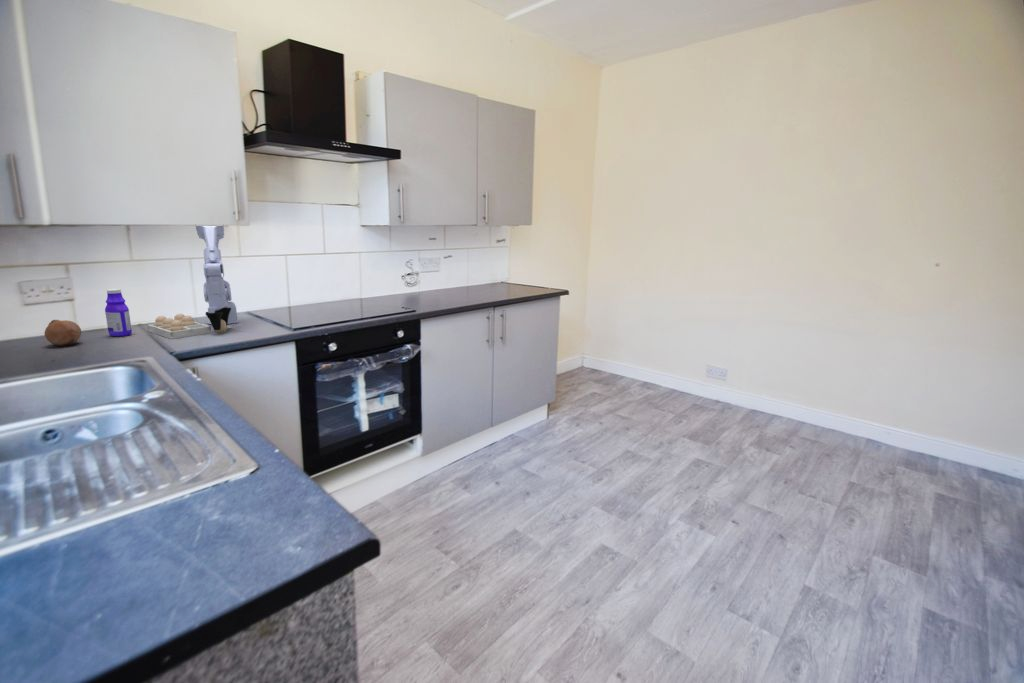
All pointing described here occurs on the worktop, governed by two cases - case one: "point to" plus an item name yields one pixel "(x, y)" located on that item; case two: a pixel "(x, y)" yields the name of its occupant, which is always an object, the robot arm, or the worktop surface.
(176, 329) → the carton
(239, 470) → the worktop surface
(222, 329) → the egg
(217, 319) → the robot arm
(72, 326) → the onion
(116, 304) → the bottle
